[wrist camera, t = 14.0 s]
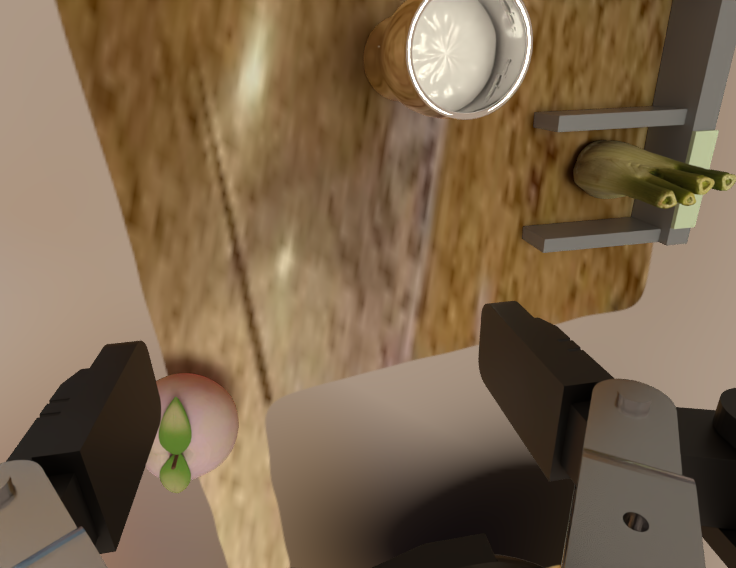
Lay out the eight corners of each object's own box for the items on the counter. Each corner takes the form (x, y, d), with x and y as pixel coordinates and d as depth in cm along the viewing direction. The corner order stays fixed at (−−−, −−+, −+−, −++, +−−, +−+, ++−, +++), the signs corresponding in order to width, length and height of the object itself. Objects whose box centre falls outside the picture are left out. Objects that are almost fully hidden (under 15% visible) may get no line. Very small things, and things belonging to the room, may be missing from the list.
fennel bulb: (632, 144, 43) (750, 167, 32) (611, 197, 45) (716, 236, 34) (576, 131, 42) (680, 151, 31) (557, 187, 44) (648, 224, 33)
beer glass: (452, 17, 37) (554, -18, 23) (435, 113, 39) (517, 132, 26) (363, -1, 35) (416, -48, 22) (351, 100, 38) (391, 114, 24)
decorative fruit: (248, 423, 48) (240, 504, 39) (162, 435, 47) (134, 520, 38) (235, 343, 44) (223, 411, 35) (141, 352, 43) (105, 426, 34)
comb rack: (548, -27, 37) (590, -43, 32) (700, -29, 38) (762, -44, 33) (522, 238, 45) (551, 258, 40) (647, 227, 47) (690, 244, 42)
